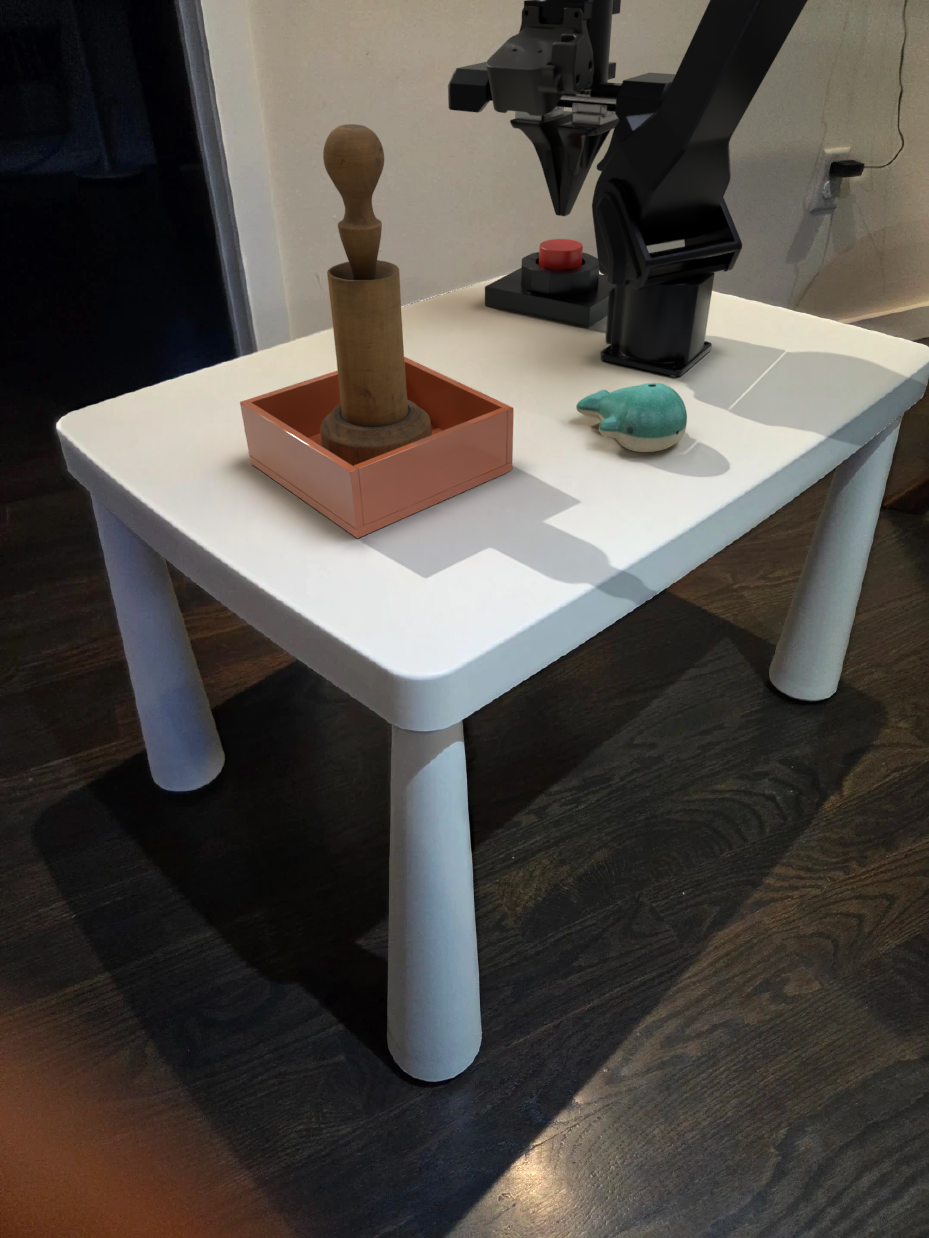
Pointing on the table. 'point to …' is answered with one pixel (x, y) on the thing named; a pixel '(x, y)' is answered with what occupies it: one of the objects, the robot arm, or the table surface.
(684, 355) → the robot arm
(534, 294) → the control block
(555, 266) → the button
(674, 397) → the whale figurine
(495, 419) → the orange square tray
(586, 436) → the table surface
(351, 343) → the mortar and pestle
